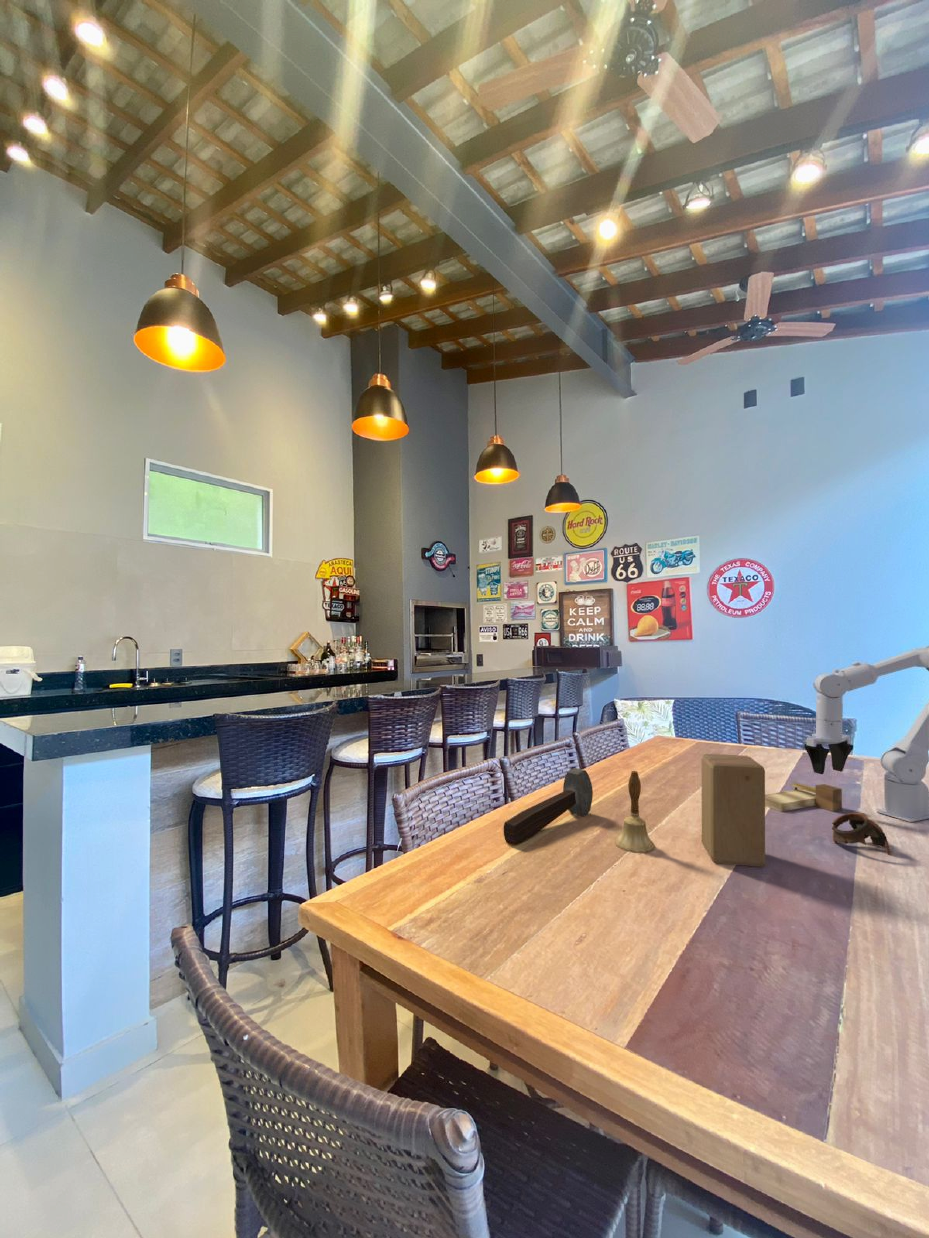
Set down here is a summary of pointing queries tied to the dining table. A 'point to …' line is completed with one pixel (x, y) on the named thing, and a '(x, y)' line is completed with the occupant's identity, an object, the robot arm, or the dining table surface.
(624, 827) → the hand bell
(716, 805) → the wooden block
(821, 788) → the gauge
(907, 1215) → the dining table surface
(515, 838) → the hammer
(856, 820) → the broken clay pot
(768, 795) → the board
